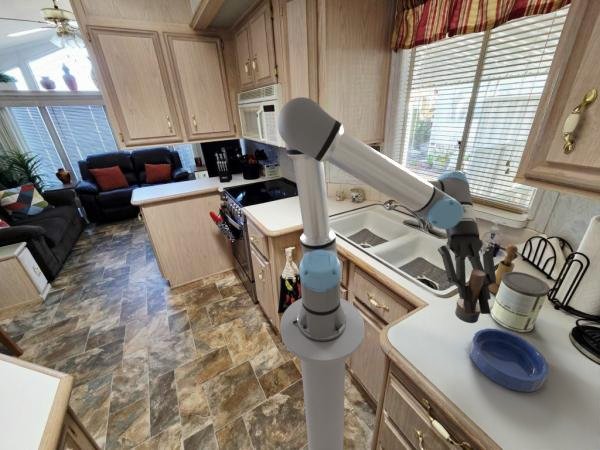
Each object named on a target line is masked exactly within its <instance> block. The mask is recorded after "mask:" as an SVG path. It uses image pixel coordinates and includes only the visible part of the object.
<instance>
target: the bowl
mask: <svg viewBox="0 0 600 450" xmlns="http://www.w3.org/2000/svg"><path fill="white" fill-rule="evenodd" d="M470 343H471V344H470V347H469V354H470V358H471V359H472V361H473V363H474V364H475V366H476V367H477V368H478V369H479V371H480V372H482V374H484V375H485V376H487V377H488V378H489V379H490V380H491V381H493V382H495V383H497V384H499V385H500V386H502V387H505V388H507V389H510V390H514V391H516V392H523V393H524V392H525V393H531V392H534V391H538V390H539V389H540V388H541V387H542V386H543V384H544V383H545V381H546V379H547V377H548V375H549V364H548V362H547V360H546V358H545V357H544V355H543V354H542V353H541V352H540V351H539V350H538V349H537V348H536V347H535V346H533V345H532V344H531V343H530V342H528V341H527V340H525V339H523V338H522V337H520V336H519V335H516V334H515V333H511V332H509V331H506V330H502V329H498V328H483V329H479V330H478V331H476V332H475V333H474V335H473V337H472V340H471V342H470Z"/></svg>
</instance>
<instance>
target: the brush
mask: <svg viewBox="0 0 600 450" xmlns="http://www.w3.org/2000/svg"><path fill="white" fill-rule="evenodd" d="M484 278H485V273H484V272H483V271H481V270H477V269H474V270H473V269H471V272H470V276H469V279H468V282H467V286H470V290H471V295H472V301H473V306H474V311H475V313H466V310H465V305H464V299H460V297H459V298H457V299H456V303H455V305H456V307H455V310H454V314H455V316H456V318H457V319H458V320H460V321H462V322H464V323H468V324H475V323H477V322H478V321H479V318H480V314H481V310H480V305H479V300H478V298H479V295H480V291H481V288H482V285H483V281H484Z"/></svg>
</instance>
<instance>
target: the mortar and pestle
mask: <svg viewBox="0 0 600 450" xmlns="http://www.w3.org/2000/svg"><path fill="white" fill-rule="evenodd" d="M518 251H519V249H518V247H517V246H516V245H515V244H508V245H507V246H506V247H505V253H506V255H505V256H504V260H500V261H499V263H498V267H497V270H496V271H495V275H496V283H494V284H491V285H489V291H490V293H493V294H495V295H497V293H498V289H499V286H500V283H501V280H502V276H503V274H504V273H506V272H514V271H513V270H514V268H515V263H513V261H514V255H516V254H517V253H518Z"/></svg>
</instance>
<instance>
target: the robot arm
mask: <svg viewBox="0 0 600 450" xmlns="http://www.w3.org/2000/svg"><path fill="white" fill-rule="evenodd" d="M277 131H278V133H279V136H280V138H281V139H282V141H283V142H284V144H285V149H286V155H287V156H288V157H289V158H290V159H291V160H292V161H293V162H292V163H293V167H294V174H295V183H296V188H297V194H298V201H299V202H298V203H299V209H300V215H301V221H302V228H303V232H302V234H301V235H300V236H299V237H300V240H299V241H300V245H301V252H302V258H301V259H300V262H299V268H298V273H299V278H300V291H301V292H300V293H301V298H302V305H301V308H300V311H299V314H298V320H296V321H293V324H295V323H297V322H298V327H299V330H300V332H301V333H302V334H303V335H304V336H305V337H306V338H308V339H310V340H312V341H315V342H330V341H333V340H335V339H337V338H339V337H340V336H341V335H342V334H343V332H344V331H345V328H346V316H345V313H344V311H343V308H342V306H341V304H340V298H341V280H342V279H341V276H342V265H341V262H340V259H339V258H338V247H337V239H336V232H335V231H333V230H332V229H331V226H330V225H331V224H330V214H329V205H328V195H327V194H328V193H327V186H326V185H327V184H326V175H325V174H326V173H325V164H324V162H328V163H329V164H331V165H333V166H335V167H336V168H338V169H340V170H342V171H343V172H345V173H347V174H348V175H350V176H352V177H354V178H355V179H356V180H358V181H361V182H362V183H364V184H366V185H368V186H369V187H371V188H372V189H374V190H376V191H377V192H379V193H381V194H383V195H385V196H386V197H388V198H389V199H392V200H393V201H395V202H397V203H398V204H399V205H400V206H403V207H406V208H407V209H408V210H410V211H412V212H413V213H415V214H416V215H418V216H419V217H422V218H423V219H425V220H426V221H427V222H428V223H429V224H430V225H432V226H433V227H435V228H436V229H438V230H445V233H446V234H445V235H446V238H447V242H446V244H445V245H441V246H439V247H438V248H437V251H438V253H439V254H440V256H441V259H442V263H443V266H444V269H445V273H446V277H447V281H448V283H449V284H450V285H454V286H455V287H457V290H458V296H459V298H460V299H464V305H465V310H466V313H475V311H474V306H473V301H472V295H471V290H470V286H468V285H466V284H467V281H466V280H467V279H466V277H467V276H466V259H468V261H469V263H470V265H471V267H472V270H474V269H477V270H481V271H483V272H484V273H485V278H484V281H483V285H482V288H481V291H480V295H479V298H478V302H479V305H480V310H481V313H480V314H481V315H491V307H490V304H489V301H490V300H491V298H492V297H491V291H490V290H489V285H491V284H494V283H496V269H495V260H494V252H495V249H496V248H495V246H494V245H490V246H488V245H486V244H484V242H483V241H482V240H481V239H480V229H479V226H478V223H477V222H476V221H477V218H476V212H475V209H474V205H473V199H472V195H471V190H470V184H469V181H468V178H467V175H466V174H465V172H462V171H460V170H452V171H450V172H449V171H447V172H445V173H442V174H440V175H439V176H438V177H437V179H423V178H422V177H420V176H418V175H416V174H415V173H413V172H412V171H410V170H408V169H407V168H405V167H404V166H402V165H401V164H399V163H397V162H395V161H394V160H392V159H390V158H389V157H388V156H387V155H384V154H383V153H381V152H379V151H378V150H376V149H374V148H373V147H371V146H370V145H368V144H367V143H365V142H363V141H362V140H360V139H358V138H357V137H355V136H353V134H350V133H349V132H347V131H345V129H344V124H343V123H342V122H341V121H338V120H337V119H335V118H334V117H332V116H331V115H330V114H328V112H326V111H325V110H324V109H323V108H322V107H321V106H320V104H318V103H317V101H315V100H313V99H311V98H308V97H301V96H300V97H299V96H298V97H295V98H291V99H290V100H288V101H287V102H286V103H285V104H284V105H283V106H282V108H281V109H280V111H279V113H278V116H277ZM480 251H481V254H482V261H481V255H480ZM450 252H452V253H453V255H454V261H455V265H454V263H453V259H452V255H451V253H450Z"/></svg>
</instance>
